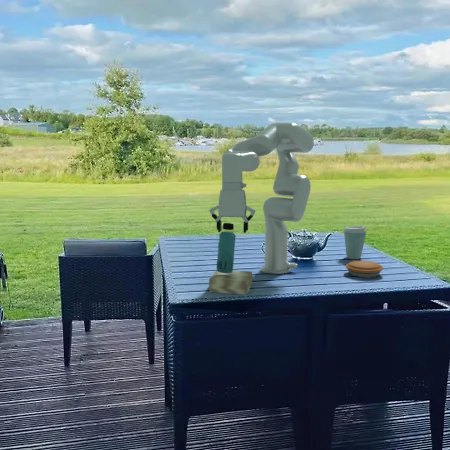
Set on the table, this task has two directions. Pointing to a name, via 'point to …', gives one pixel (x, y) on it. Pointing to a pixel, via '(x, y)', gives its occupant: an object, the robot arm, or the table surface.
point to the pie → (364, 268)
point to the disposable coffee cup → (354, 241)
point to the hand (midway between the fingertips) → (232, 231)
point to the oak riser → (231, 282)
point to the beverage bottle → (226, 249)
